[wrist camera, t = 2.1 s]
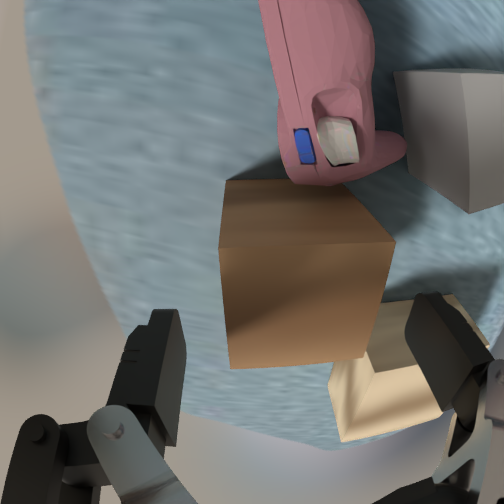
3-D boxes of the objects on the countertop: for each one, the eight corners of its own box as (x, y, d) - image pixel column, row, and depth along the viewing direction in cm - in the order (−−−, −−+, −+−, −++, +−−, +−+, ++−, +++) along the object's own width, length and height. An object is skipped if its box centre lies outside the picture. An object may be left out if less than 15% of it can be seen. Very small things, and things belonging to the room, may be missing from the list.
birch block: (347, 306, 17) (374, 373, 13) (452, 294, 17) (490, 344, 13) (327, 385, 21) (341, 442, 17) (417, 369, 21) (439, 417, 17)
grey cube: (391, 71, 11) (460, 73, 6) (468, 68, 10) (539, 77, 6) (407, 172, 13) (468, 214, 9) (478, 157, 13) (541, 190, 8)
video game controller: (277, -31, 9) (191, -83, 4) (373, -44, 7) (352, -123, 2) (312, 156, 14) (256, 219, 9) (406, 156, 12) (417, 227, 7)
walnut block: (226, 180, 13) (218, 248, 8) (337, 178, 13) (395, 241, 8) (231, 275, 16) (230, 369, 11) (327, 271, 16) (363, 357, 11)
